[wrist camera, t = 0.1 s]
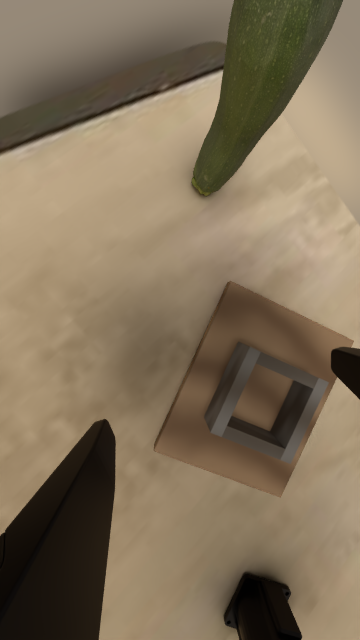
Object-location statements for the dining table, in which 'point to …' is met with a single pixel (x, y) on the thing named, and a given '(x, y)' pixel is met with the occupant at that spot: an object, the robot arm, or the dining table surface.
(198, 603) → the dining table surface
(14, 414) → the dining table surface
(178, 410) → the can holder
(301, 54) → the vegetable
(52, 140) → the dining table surface
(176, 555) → the dining table surface
